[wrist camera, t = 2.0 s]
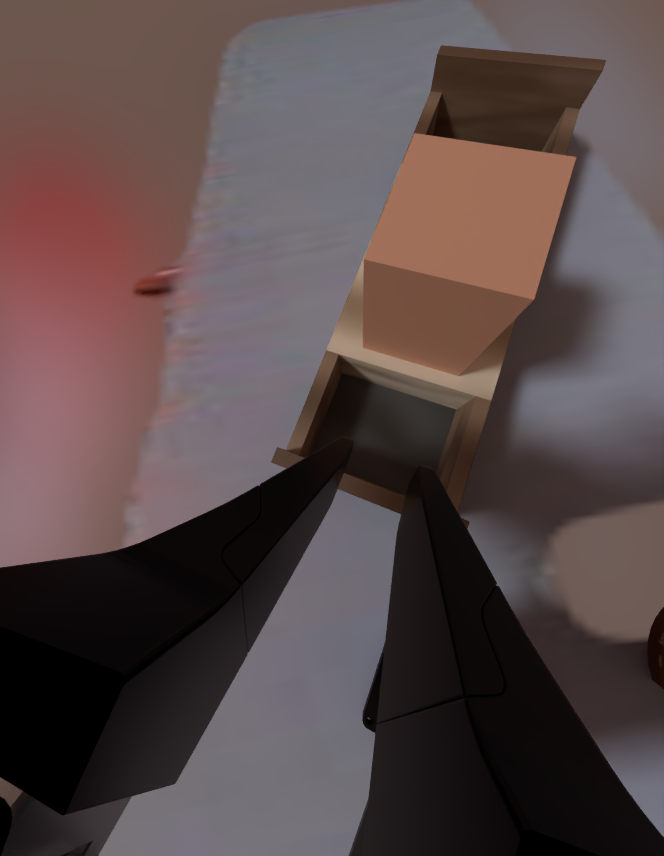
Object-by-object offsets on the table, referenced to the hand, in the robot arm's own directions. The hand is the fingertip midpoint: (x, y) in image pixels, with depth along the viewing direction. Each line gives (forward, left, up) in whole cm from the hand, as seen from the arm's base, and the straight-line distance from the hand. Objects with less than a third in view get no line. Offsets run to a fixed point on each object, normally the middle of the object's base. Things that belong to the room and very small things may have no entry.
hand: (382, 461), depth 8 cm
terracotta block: (+12, 0, -10) cm, 15 cm away
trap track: (+16, 0, -14) cm, 21 cm away
